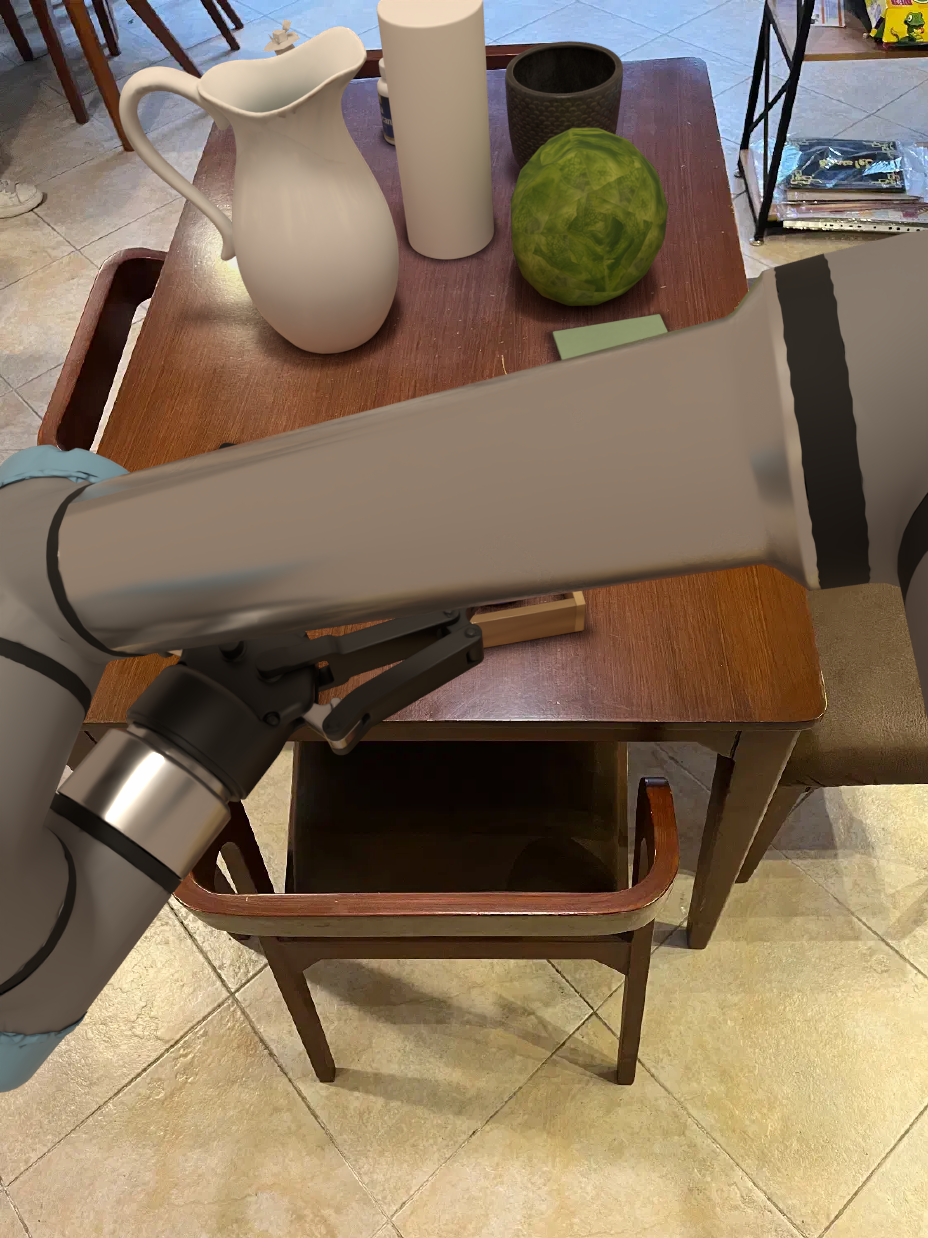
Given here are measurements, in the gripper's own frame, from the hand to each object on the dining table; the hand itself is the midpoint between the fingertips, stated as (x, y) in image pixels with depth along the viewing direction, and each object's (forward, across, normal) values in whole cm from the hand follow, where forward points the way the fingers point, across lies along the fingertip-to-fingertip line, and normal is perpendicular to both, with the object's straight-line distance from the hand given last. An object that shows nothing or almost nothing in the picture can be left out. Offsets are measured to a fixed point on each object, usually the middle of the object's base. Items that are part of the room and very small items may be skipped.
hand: (405, 488), depth 53 cm
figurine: (+58, -56, -22) cm, 84 cm away
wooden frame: (+10, 0, -22) cm, 24 cm away
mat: (+41, -3, -22) cm, 47 cm away
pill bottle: (+71, -50, -22) cm, 90 cm away
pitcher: (+32, -38, -22) cm, 54 cm away
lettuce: (+55, -14, -22) cm, 61 cm away
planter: (+71, -25, -22) cm, 78 cm away
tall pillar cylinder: (+54, -32, -22) cm, 66 cm away
